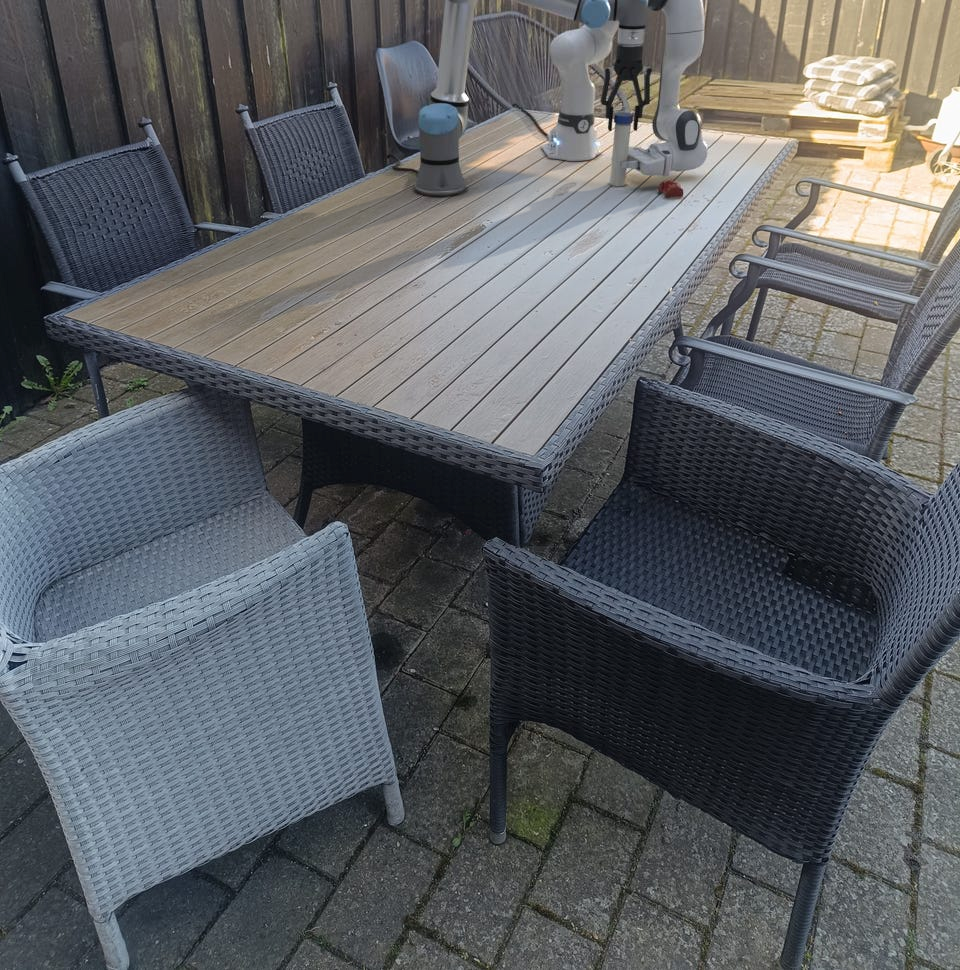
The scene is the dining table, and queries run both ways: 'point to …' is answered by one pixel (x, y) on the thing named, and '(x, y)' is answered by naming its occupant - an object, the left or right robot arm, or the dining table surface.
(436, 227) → the dining table surface
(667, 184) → the dental model
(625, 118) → the lid
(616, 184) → the white cylinder
